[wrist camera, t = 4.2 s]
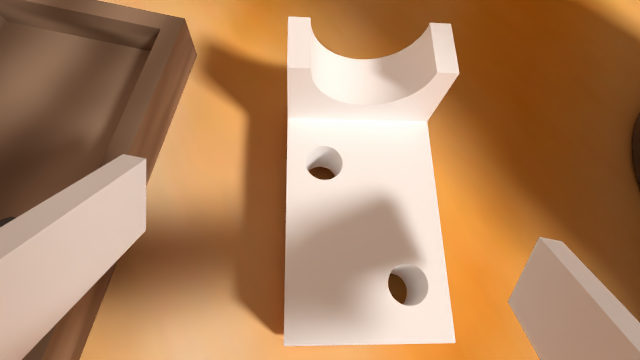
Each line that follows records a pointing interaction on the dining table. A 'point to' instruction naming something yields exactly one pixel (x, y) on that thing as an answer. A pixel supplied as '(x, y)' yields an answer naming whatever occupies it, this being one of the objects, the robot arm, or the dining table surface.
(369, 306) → the bracket
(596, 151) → the dining table surface
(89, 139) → the walnut tray
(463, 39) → the dining table surface
